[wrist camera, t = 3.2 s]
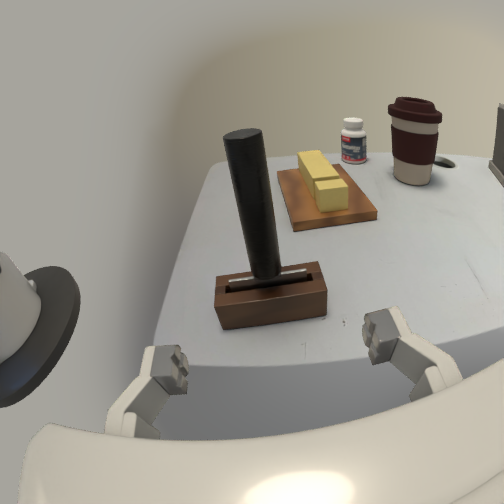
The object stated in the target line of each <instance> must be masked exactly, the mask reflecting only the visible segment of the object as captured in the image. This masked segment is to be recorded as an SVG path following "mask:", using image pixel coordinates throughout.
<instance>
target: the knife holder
mask: <svg viewBox="0 0 504 504" xmlns="http://www.w3.org/2000/svg"><path fill="white" fill-rule="evenodd" d="M304 268H306V270H307V282H301V283H295V284H288V285H282V286H275V287H268V288H261V289H254V290H247V291H240V292H233V293H232V292H231V288H230V285H229V280H230V279H238V278H244V277H251V276H253V275H252V272H244V273H237V274H230V275H223V276H217V277H216V288H215V300H214V308H215V310H216V313H217V316H218V318H219V321H220V323H221V326H222V328H223V330H226V329H235V328H243V327H251V326H259V325H266V324H274V323H280V322H287V321H294V320H300V319H306V318H312V317H318V316H324V315H326V313H327V287H326V284H325V281H324V278H323V275H322V272H321V269H320V266H319V263H318V261H316V262H310V263H303V264H297V265H290V266H284V267H281V272H285V271H291V270H298V269H304Z"/></svg>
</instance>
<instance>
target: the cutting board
mask: <svg viewBox="0 0 504 504" xmlns="http://www.w3.org/2000/svg"><path fill="white" fill-rule="evenodd" d="M332 166H333V168H334V169H335V170H336V171H337V173H338V174H339V175H340V179H343V180H344V182H345V183H346V184H347V186H348V209H345V210H337V211H330V212H322V213H320V211H319V209H318V207H317V205H316V200H314V199H313V197H312V195H311V193H310V191H309V189H308V187H307V185H306V183H305V181H304V179H303V177H302V175H301V173H300V171H299V168H298V169H290V170H283V171H277V176H278V181H279V184H280V187H281V190H282V194H283V197H284V200H285V204H286V207H287V210H288V214H289V217H290V220H291V224H292V227H293V231H300V230H307V229H314V228H320V227H327V226H334V225H341V224H348V223H355V222H362V221H370V220H376V219H377V209H376V208H375V207H374V206H373V204H372V203H371V202H370V200H369V199H368V198H367V197H366V195H365V194H364V193H363V192H362V190H361V189H360V188H359V187H358V186H357V184H356V183H355V182H354V181H353V180H352V178H351V177H350V176H349V175H348V174H347V173H346V171H345V170H344V169H343V168H342V167H341V166H340V164H333V165H332Z"/></svg>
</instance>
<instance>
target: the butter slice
mask: <svg viewBox="0 0 504 504" xmlns="http://www.w3.org/2000/svg"><path fill="white" fill-rule="evenodd" d="M315 195H316V205H317V207H318V209H319V211H320V213H322V212H330V211H337V210H345V209H348V186H347V184H346V183H345V182H344V180H343V179H334V180H326V181H317V182H315Z"/></svg>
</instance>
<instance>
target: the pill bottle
mask: <svg viewBox="0 0 504 504" xmlns="http://www.w3.org/2000/svg"><path fill="white" fill-rule="evenodd" d="M344 127H345V128H344V129H343V130H342V131H341V146H342V160H343V161H345V162H347V163H352V164H360V163H363V162H365V161H366V132H365V131H364V130H363V129H362V127H363V120H362V119H359V118H345V119H344Z"/></svg>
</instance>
